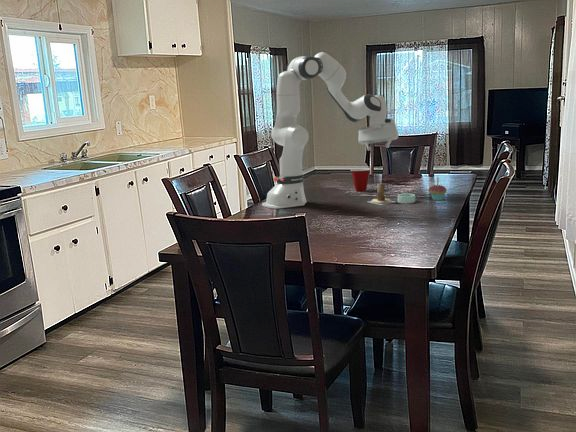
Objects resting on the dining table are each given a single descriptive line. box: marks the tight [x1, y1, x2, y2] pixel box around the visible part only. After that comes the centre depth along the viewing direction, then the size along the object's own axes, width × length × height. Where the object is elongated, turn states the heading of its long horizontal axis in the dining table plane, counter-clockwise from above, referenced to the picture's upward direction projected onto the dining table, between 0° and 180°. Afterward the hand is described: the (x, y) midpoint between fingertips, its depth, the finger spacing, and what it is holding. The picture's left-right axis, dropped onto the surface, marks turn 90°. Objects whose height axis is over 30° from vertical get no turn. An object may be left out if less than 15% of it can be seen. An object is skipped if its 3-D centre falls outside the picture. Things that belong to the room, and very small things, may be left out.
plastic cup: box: [350, 168, 371, 192], centre depth 308 cm, size 11×11×12 cm
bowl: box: [397, 192, 416, 204], centre depth 275 cm, size 8×8×4 cm
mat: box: [367, 200, 396, 206], centre depth 277 cm, size 10×10×1 cm
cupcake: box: [428, 176, 448, 201], centre depth 277 cm, size 9×8×12 cm
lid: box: [371, 182, 392, 205], centre depth 276 cm, size 9×9×9 cm
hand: (378, 148), depth 287 cm, fingers open, 8 cm apart
